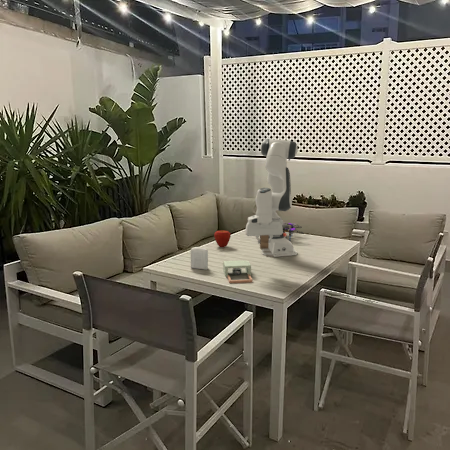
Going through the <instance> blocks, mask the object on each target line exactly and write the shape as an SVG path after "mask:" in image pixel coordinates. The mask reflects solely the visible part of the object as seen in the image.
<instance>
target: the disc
mask: <svg viewBox="0 0 450 450" xmlns="http://www.w3.org/2000/svg"><path fill="white" fill-rule="evenodd" d="M231 269H232V270H231V271H232V273H231V274H233V276H234V275H241V274H242V268H231Z"/></svg>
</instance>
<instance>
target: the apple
mask: <svg viewBox="0 0 450 450" xmlns="http://www.w3.org/2000/svg"><path fill="white" fill-rule="evenodd" d="M231 234H232V233H230V232H229V230H223V229H221V230H217V231H215V232H214V239H215V243H216V245H217V246H218V247H219V248H225V247H227V246H228V244H229V242H230V239H231Z"/></svg>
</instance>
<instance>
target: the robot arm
mask: <svg viewBox="0 0 450 450" xmlns="http://www.w3.org/2000/svg"><path fill="white" fill-rule="evenodd" d="M260 152H261V155H263V156H264V157H266V158H265V169H266V172H267V178H266V182H267V184H268V185H269V186H270V188H268V187H261V188H259V189H257V191H256V196H255V201H254V202H255V207H256V210H255V211H256V212H255V214H254V215H251V216H248V217H247V223H246V225H245V235H246V237H255V238H256V239H257V244H259V245H260V244H261V240H260V236H261V235H269V246H268V248H269V250H270V251H271V252H272V254H273V257H274V258H279V257H289V256H297V254H298V252H297V250H296V249H294V245H293V243H292V242H291V241H289V239H288V238H286V237H287V235H288V234H287V232H285V233H284V232H283V228H282V225H283V223H284V220H283V219H282V218H281V216H280V215H279V214H278V213H277V212H278V211H279V212H288V211H289V210H290V209H292V206H293V205H292V204H293V199H292V190H291V188H292V187H291V185H292V184H291V174H290V169H289V167H287V166H288V162H287V159H288V161H289V162H290V161H291V160H293V159H294V158H295V157H296V156H297V153H298V144H297V142H295V141H293V140H287V139H282V138H281V139H276V138H275V139H270V138H265V139H263V140H262V141H261V144H260ZM260 253H261V254H262V255H264V256H265V254H264V253H263V251H262V250H261V252H260ZM273 257H272V258H273Z"/></svg>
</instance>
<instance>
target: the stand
mask: <svg viewBox="0 0 450 450" xmlns="http://www.w3.org/2000/svg"><path fill="white" fill-rule="evenodd" d="M222 262H223V263H222V264H223V265H222V266H223V268H222V270H223V275H224V277H226V278H227V275H229V269H233V268H241V269H245V272H246V274H247V275H248V274H250V276H251V277H252V264H251V263H250V261H249V260H244V259H243V260H223V261H222Z"/></svg>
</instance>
